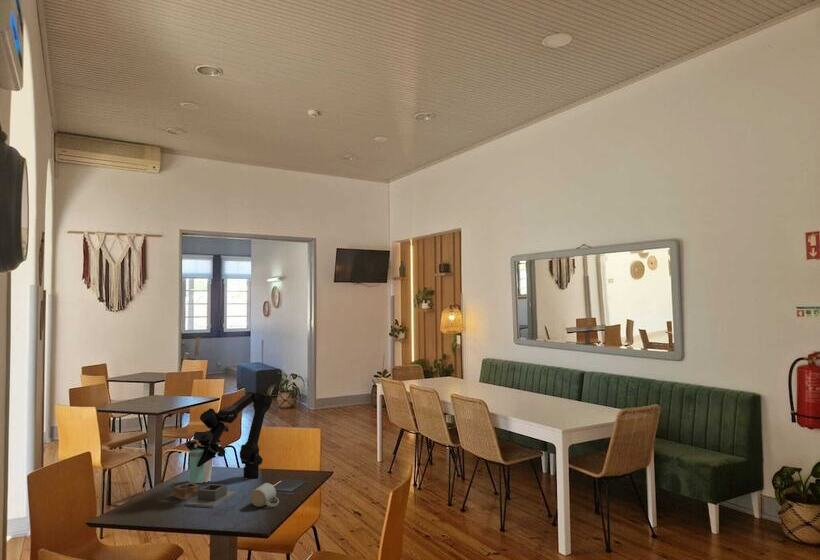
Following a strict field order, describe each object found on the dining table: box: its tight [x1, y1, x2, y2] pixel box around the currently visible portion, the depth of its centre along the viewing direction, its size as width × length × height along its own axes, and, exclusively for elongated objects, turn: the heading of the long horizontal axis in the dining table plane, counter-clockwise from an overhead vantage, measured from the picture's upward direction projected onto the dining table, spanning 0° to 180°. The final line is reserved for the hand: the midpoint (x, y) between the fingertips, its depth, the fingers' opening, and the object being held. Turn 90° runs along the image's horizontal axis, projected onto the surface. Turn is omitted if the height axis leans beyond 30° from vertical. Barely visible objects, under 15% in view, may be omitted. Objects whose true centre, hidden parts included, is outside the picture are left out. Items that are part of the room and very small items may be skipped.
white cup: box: [196, 458, 213, 484], centre depth 257 cm, size 8×8×10 cm
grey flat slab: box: [272, 478, 310, 496], centre depth 246 cm, size 20×2×15 cm
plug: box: [188, 449, 204, 484], centre depth 233 cm, size 4×4×13 cm
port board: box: [186, 483, 237, 509], centre depth 230 cm, size 18×12×5 cm, turn 168°
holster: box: [172, 482, 201, 501], centre depth 236 cm, size 8×7×4 cm
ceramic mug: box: [250, 482, 280, 508], centre depth 223 cm, size 11×8×8 cm
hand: (194, 466), depth 232 cm, fingers closed on plug, 4 cm apart
